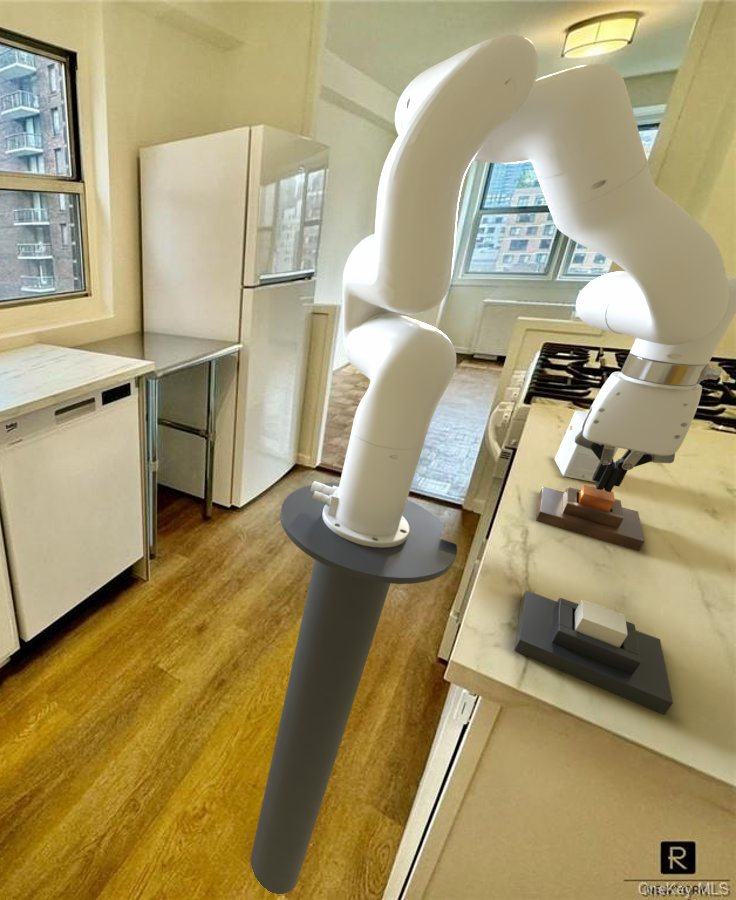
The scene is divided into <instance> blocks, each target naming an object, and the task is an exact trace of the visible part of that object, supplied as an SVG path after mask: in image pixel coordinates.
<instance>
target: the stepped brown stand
mask: <svg viewBox="0 0 736 900" xmlns="http://www.w3.org/2000/svg"><path fill="white" fill-rule="evenodd" d="M580 490H581V489H579V488H574V487H570V486H566V489H565V491H562V490H558V489H554V488H551V487H546V486H542V487H541V490H540V491H539V494H538V502H537V509H536V518H535V520H536V521H538V522H540V523H543V524H547V525H550V526H553V527H557V528H561V529H564V530H567V531H570V532H573V533H577V534H581V535H583V536H588V537H591V538H595V539H598V540H601V541H603V542H608V543H611V544H615V545H619V546H621V547H625V548H628V549H631V550H634V551H637V552H638V551H641V549H642V547H643V546H644V544H645V541H646V540H645V537H644V531H643V527H642V523H641V519H640V514H639V511H637V510H634V509H630V508H626V507H623V506H622V501H621V499H616V498H614V499H615V503H614V504H613V506H612V508H611V510H610V512H609V511H606V510H602V509H598V508H594V507H591V506H587V505H583V504H579V503H578V494H579V492H580Z"/></svg>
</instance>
